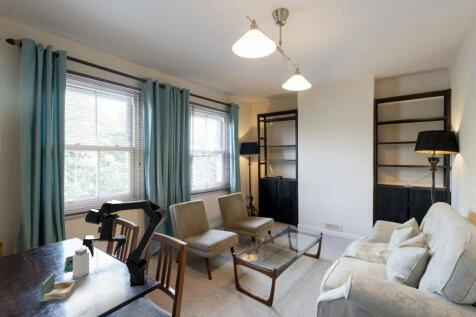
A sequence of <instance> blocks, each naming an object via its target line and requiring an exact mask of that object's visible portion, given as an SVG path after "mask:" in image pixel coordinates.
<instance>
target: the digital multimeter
mask: <svg viewBox="0 0 476 317" xmlns="http://www.w3.org/2000/svg"><path fill="white" fill-rule="evenodd" d="M63 270H64V272H69V271H70V272H71V271H73V255H70V256H67V257H65V264H64V268H63Z"/></svg>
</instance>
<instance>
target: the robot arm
mask: <svg viewBox="0 0 476 317" xmlns="http://www.w3.org/2000/svg"><path fill="white" fill-rule="evenodd" d="M131 210H132V211H133V210H143V211H144V213H145V215H146V216H147V217H148V218H149V219H148V225H147V228H146V230H145V232H144V233H143V234H142V237H141V239H140V241H139V243H138V245H137V246H136V247H135V248H134V249H132V250H131V251H130V252H129V253H128V255H127V258H126V259H125V266H126V268H127V270H128V273H129V283H130V285H129V287H135V286H136V287H138V286H144V285H145V284H146V281H147V277H146V276H147V275H146V274H147V271H146V267H147V266H148V264H149V262H148V260H147V259H146V258H145V256H146V249H147V248H148V246H149V244H150V242H151V240H152V239H153V237H154V235H155V232H156V231H157V230H158V227H160V225H161V224H162V223H163V222H164V220H165V219H166V218H167V216H168V212H167V210H166V209H165V208H162V207H161V206H160V205H158V204H157V203H154V202H153V201H151V200H150V199H145V200H144V199H142V200H132V201H120V200H114V199H113V200H110V201H107V202H106V201H105V202H103V203H102V205H101V207H100V209H99V210H97V209H95V208H92V209H89V210H88V213H87V214H86V216H85V218H84V222H85V223H87V224H92V225H97V226H98V225H100V224H101V225H100V226H98V228H97V234H99V236H98V237H95V234H94V235H93V234H92V235H91V234H90V235H89V234H88V235H85V236H84V238H83V239H82V246H84V247H86V248H88V250H89V254H90V255H91V258H94V256H95V243H101V242H102V243H104V242H105V243H108V242H115V247H114V251H113V257H115V255H116V253H117V252H118V250H120V247H123V245H126V244H127V235H126V234H118V236H117V237H113V236H114V228H115V223H116V222H115V221H116V220H118V219H119V218H120V215H119V214H118V213H119V212H121V211H131Z"/></svg>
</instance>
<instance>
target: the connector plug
mask: <svg viewBox="0 0 476 317" xmlns="http://www.w3.org/2000/svg"><path fill="white" fill-rule="evenodd" d="M72 256H73V270H72V276H73V277H78V278H83V276H84V277H85V276H86V275H87V274H88V273H90V251H88V249H87V247H86V248H84V247H79V249H76V250H75V251H74V254H73V255H72Z"/></svg>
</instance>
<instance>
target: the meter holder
mask: <svg viewBox="0 0 476 317" xmlns="http://www.w3.org/2000/svg"><path fill="white" fill-rule="evenodd" d="M77 285H78V280H77V279H75V280H73V279H71V280H66V281H65V280H64V281H56V272H52V273H51V274H50V275H49V276H48V277H47V278H46V279H45V280H44V281H43V283H41V284H40V286H41V287H40V290H41V292H40V293H41V294H40V295H41V296H40V297H41V298H40V302H45V301H53V300H61V299H68V298H69V297H70V296H71V295H72V293H73V291H74V290H76V287H77Z"/></svg>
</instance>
